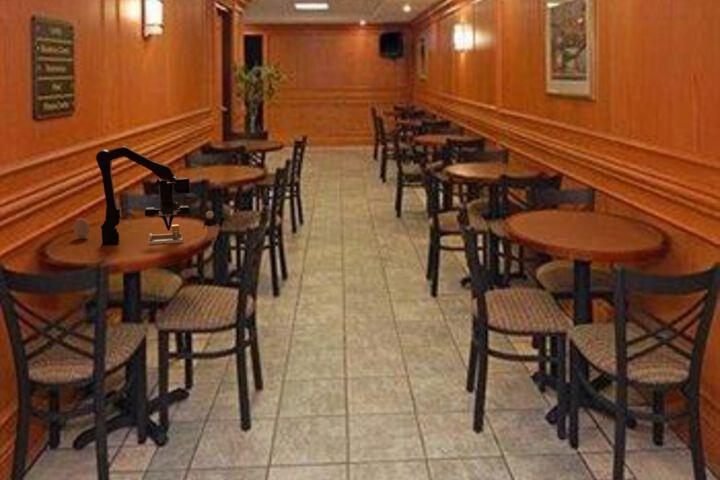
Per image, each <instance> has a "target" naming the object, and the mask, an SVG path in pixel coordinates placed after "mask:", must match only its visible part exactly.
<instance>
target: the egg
mask: <svg viewBox="0 0 720 480" xmlns="http://www.w3.org/2000/svg"><path fill="white" fill-rule="evenodd" d="M73 224H74V225H73V233H74V235H75V236H76V237H77V238H78V239H81V240H83V239H85V238H87V237H88V236H89V234H90V225H89V223H88V221H87V220H86V219H84V218H83V217H82V218H81V217H80V218H77V220H75V222H74V223H73Z"/></svg>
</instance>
